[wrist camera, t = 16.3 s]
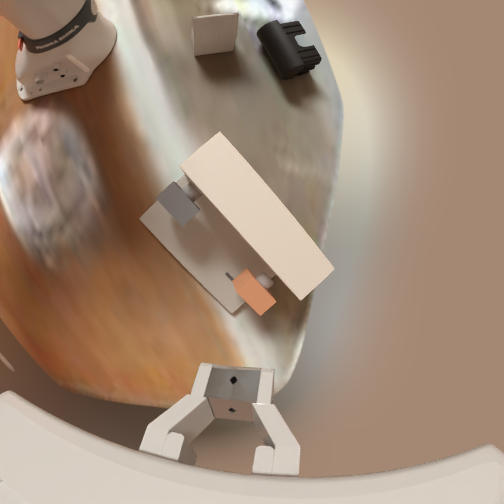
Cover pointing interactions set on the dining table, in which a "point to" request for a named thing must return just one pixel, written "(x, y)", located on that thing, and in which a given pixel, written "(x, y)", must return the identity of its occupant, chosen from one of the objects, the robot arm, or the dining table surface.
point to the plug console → (236, 228)
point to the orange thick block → (255, 290)
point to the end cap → (287, 49)
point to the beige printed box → (214, 33)
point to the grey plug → (180, 202)
